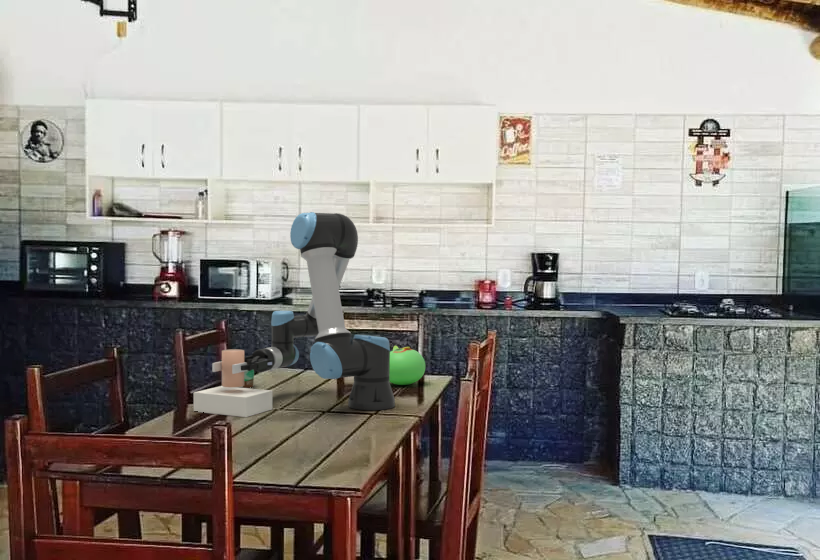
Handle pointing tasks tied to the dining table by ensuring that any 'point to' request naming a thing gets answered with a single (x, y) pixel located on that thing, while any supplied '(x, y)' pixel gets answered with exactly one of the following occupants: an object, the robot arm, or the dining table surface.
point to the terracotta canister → (228, 360)
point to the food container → (248, 379)
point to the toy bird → (405, 366)
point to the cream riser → (233, 401)
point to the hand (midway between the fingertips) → (223, 368)
